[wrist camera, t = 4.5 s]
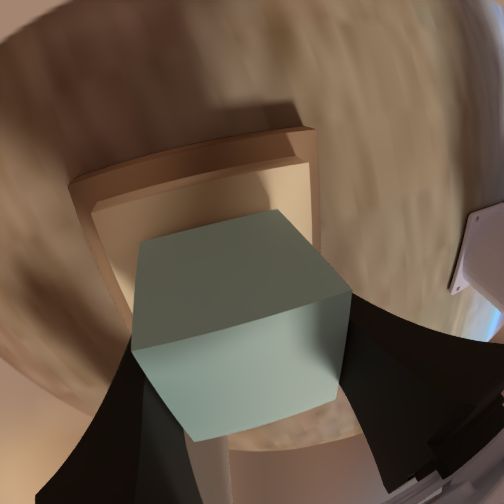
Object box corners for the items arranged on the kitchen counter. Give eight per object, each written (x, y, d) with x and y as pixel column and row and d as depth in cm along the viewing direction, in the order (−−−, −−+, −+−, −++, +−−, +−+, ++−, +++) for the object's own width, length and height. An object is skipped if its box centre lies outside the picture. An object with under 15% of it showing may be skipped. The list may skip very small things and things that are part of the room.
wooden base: (303, 126, 12) (331, 133, 10) (310, 300, 17) (328, 327, 15) (75, 177, 10) (57, 195, 8) (145, 345, 16) (147, 377, 14)
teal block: (277, 208, 11) (352, 289, 6) (286, 311, 13) (335, 399, 9) (139, 242, 10) (131, 351, 6) (177, 340, 12) (194, 442, 8)
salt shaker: (133, 386, 17) (158, 574, 6) (216, 376, 19) (276, 560, 8) (152, 425, 20) (180, 571, 9) (220, 416, 21) (267, 558, 11)
